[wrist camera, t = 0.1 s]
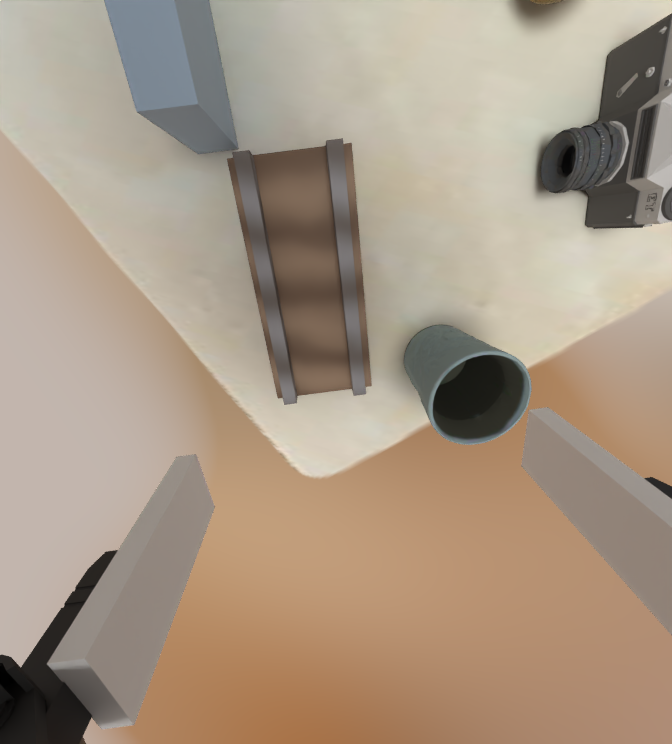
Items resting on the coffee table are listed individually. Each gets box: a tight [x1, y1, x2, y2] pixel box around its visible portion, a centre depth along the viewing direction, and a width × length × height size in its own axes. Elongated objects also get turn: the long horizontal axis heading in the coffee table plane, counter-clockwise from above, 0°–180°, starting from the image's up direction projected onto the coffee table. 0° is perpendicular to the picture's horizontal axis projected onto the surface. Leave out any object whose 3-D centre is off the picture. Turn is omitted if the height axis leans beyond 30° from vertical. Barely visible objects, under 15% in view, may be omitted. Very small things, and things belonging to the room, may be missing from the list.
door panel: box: [104, 0, 238, 154], centre depth 24 cm, size 12×4×12 cm, turn 7°
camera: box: [541, 14, 672, 229], centre depth 29 cm, size 16×10×10 cm, turn 9°
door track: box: [227, 139, 371, 405], centre depth 36 cm, size 26×12×4 cm, turn 7°
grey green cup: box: [404, 325, 531, 445], centre depth 37 cm, size 10×10×12 cm
